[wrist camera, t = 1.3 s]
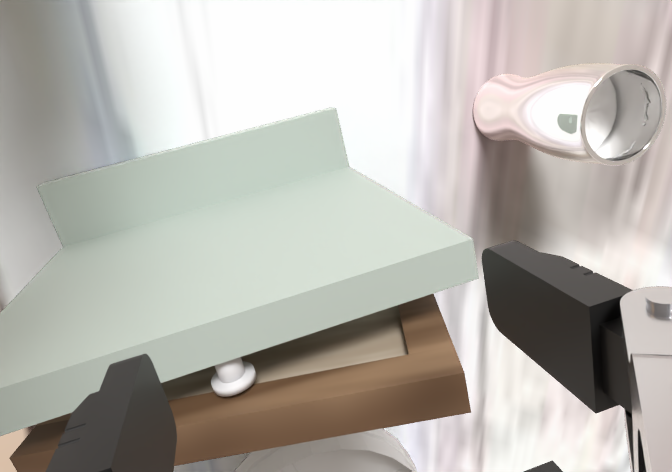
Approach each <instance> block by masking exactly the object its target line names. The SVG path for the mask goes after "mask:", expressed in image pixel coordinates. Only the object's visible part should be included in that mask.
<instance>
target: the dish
mask: <svg viewBox="0 0 672 472" xmlns="http://www.w3.org/2000/svg"><path fill="white" fill-rule="evenodd" d="M234 472H417V471H416V467H415V465H414V463H413V461H412V459H411V458H410V456H409V454H408V453H407V451H406V450H405V449H404V447H403V446H402V445H401V443H400V442H399V441H398V439H397V438H395V437H394V436H393V435H391V434H390V433H388V432H387V431H385V430H384V429H383V428H382V429H376V430H370V431H365V432H359V433H354V434H348V435H343V436H337V437H332V438H326V439H321V440H315V441H310V442H304V443H298V444H293V445H287V446H282V447H276V448H271V449H265V450H260V451H254V452H251V453H250V454H249V455H248V456H247V457H246V459H245V460H244V461H243V462H242V463H241V464H240V465H239V466H238V467H237V468H236V470H235V471H234Z"/></svg>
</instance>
